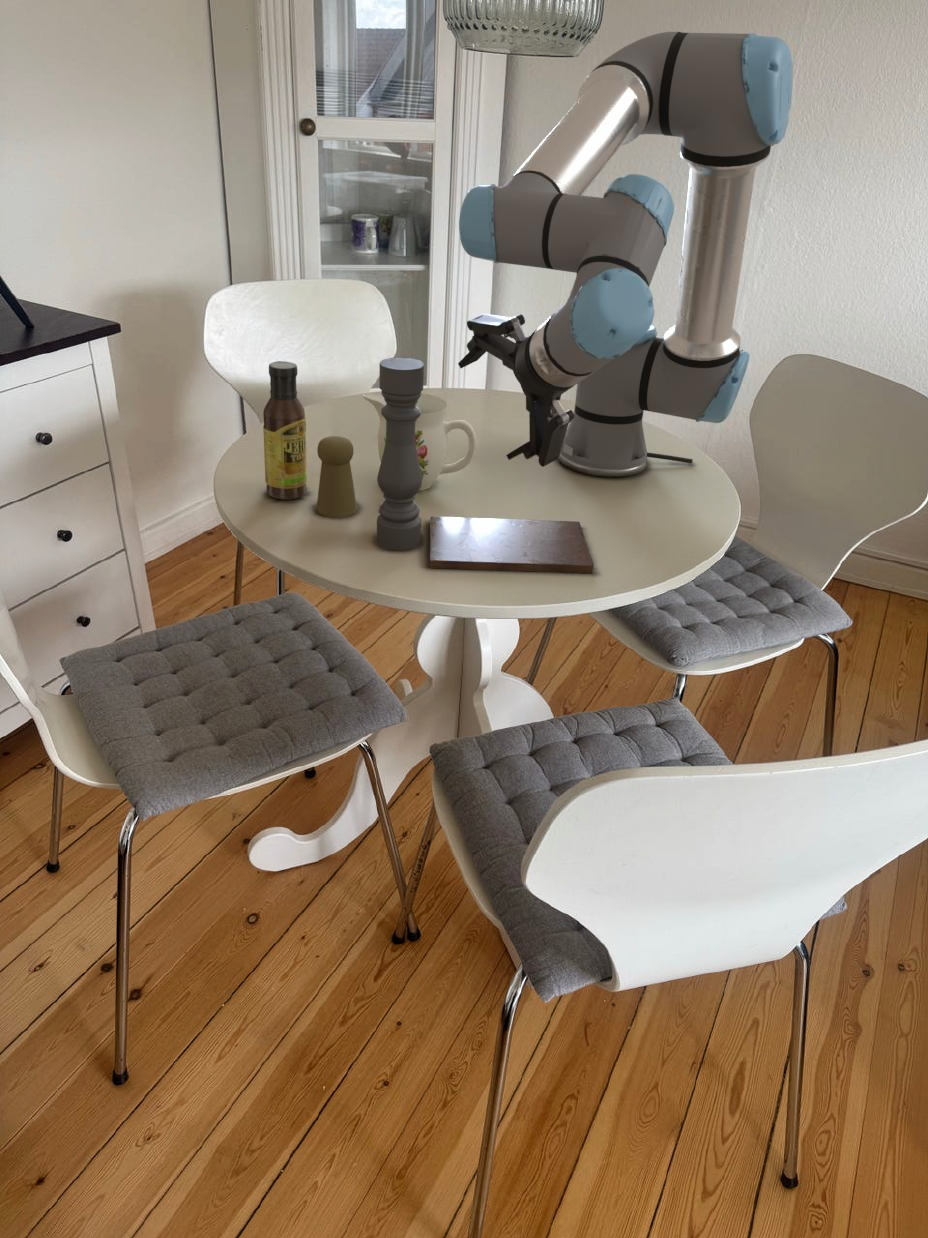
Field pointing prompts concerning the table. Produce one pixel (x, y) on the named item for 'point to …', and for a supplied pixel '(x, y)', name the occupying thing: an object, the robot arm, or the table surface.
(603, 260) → the robot arm
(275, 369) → the sauce bottle
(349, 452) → the olive pepper mill
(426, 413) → the pitcher
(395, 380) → the candle holder
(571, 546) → the walnut board
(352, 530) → the table surface
